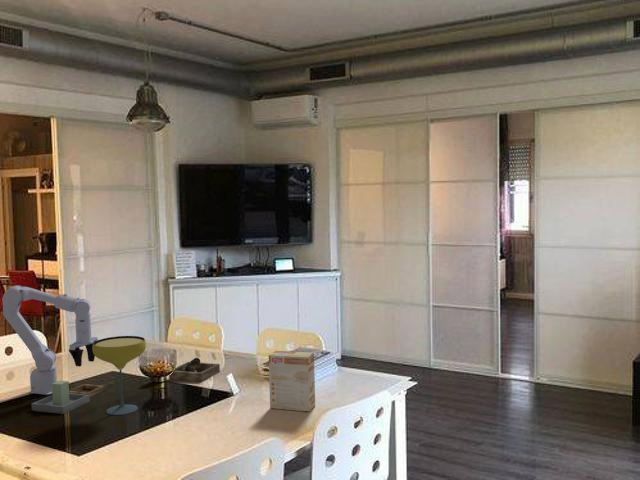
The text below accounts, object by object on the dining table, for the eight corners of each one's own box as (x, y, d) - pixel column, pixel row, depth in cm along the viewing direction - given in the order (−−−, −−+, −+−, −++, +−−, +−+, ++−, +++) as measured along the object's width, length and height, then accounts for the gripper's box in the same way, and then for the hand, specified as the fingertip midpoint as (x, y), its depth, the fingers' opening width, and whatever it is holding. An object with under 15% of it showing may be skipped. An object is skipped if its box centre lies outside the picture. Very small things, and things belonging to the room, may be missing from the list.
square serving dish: (169, 379, 264) (169, 371, 263) (188, 369, 278) (188, 361, 278) (202, 382, 259) (201, 373, 258) (219, 371, 273) (219, 364, 273)
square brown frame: (65, 395, 245) (65, 391, 245) (83, 387, 254) (83, 383, 254) (88, 397, 241) (87, 393, 241) (105, 389, 251) (105, 385, 251)
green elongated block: (52, 405, 231) (51, 383, 230) (60, 401, 235) (59, 380, 234) (61, 406, 229) (60, 384, 229) (69, 402, 233) (68, 381, 233)
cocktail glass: (99, 422, 214) (96, 349, 212) (92, 407, 230) (88, 339, 228) (153, 413, 222) (150, 343, 220) (142, 399, 238) (139, 333, 236)
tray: (31, 410, 228) (31, 403, 228) (59, 398, 241) (59, 392, 241) (63, 413, 223) (63, 407, 223) (89, 401, 236) (89, 395, 236)
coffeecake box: (315, 406, 226) (314, 352, 225) (309, 412, 219) (307, 357, 218) (277, 402, 231) (275, 349, 230) (269, 408, 224) (268, 354, 223)
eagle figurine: (203, 373, 267) (204, 364, 276) (193, 361, 265) (194, 352, 274) (188, 383, 268) (190, 373, 276) (178, 370, 266) (180, 361, 275)
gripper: (79, 334, 244) (80, 369, 245) (103, 327, 258) (104, 359, 259) (64, 333, 246) (66, 367, 247) (89, 326, 260) (90, 358, 261)
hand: (84, 363), depth 253 cm, fingers open, 7 cm apart
